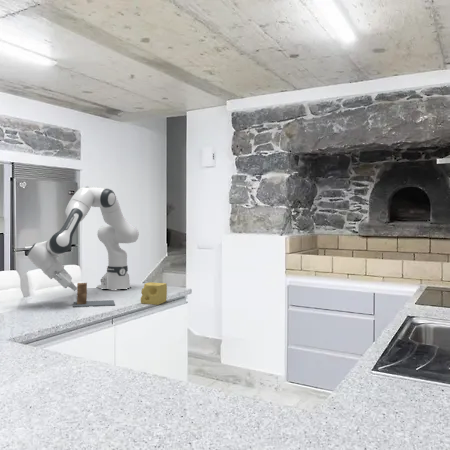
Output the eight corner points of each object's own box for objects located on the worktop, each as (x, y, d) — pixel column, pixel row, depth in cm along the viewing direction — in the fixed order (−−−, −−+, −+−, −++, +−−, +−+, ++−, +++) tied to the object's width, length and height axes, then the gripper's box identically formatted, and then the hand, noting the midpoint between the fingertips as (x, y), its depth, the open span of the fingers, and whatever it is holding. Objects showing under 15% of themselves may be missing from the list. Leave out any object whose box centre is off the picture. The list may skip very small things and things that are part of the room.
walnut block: (77, 304, 228) (77, 284, 228) (77, 302, 233) (77, 283, 233) (86, 304, 230) (86, 284, 230) (86, 302, 234) (86, 282, 234)
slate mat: (72, 307, 224) (72, 306, 224) (73, 302, 236) (73, 301, 236) (114, 305, 230) (114, 304, 230) (113, 301, 242) (113, 300, 242)
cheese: (140, 303, 236) (140, 284, 236) (149, 300, 247) (150, 281, 246) (159, 305, 233) (159, 285, 233) (167, 301, 244) (167, 282, 243)
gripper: (58, 268, 218) (80, 288, 221) (61, 263, 238) (80, 282, 241) (48, 278, 217) (70, 297, 220) (51, 272, 236) (71, 290, 239)
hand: (75, 289), depth 230 cm, fingers closed
